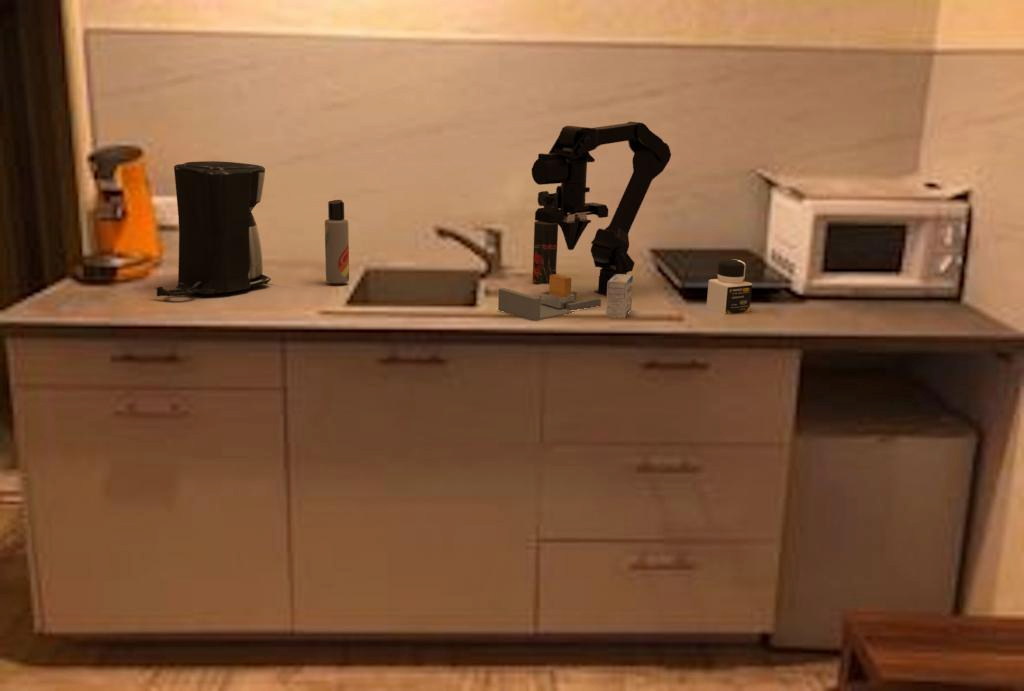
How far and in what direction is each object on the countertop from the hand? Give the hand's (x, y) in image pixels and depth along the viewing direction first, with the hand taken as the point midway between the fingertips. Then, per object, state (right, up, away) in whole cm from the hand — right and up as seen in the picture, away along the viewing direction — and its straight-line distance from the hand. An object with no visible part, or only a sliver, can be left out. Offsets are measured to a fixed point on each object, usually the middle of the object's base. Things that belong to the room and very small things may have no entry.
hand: (570, 249), depth 237 cm
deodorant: (-5, -6, +22) cm, 24 cm away
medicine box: (+10, -16, -9) cm, 21 cm away
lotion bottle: (-57, -7, +15) cm, 59 cm away
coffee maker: (-84, -9, +6) cm, 84 cm away
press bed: (-4, -14, -7) cm, 16 cm away
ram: (-3, -13, -6) cm, 15 cm away
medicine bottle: (+36, -15, -3) cm, 39 cm away
